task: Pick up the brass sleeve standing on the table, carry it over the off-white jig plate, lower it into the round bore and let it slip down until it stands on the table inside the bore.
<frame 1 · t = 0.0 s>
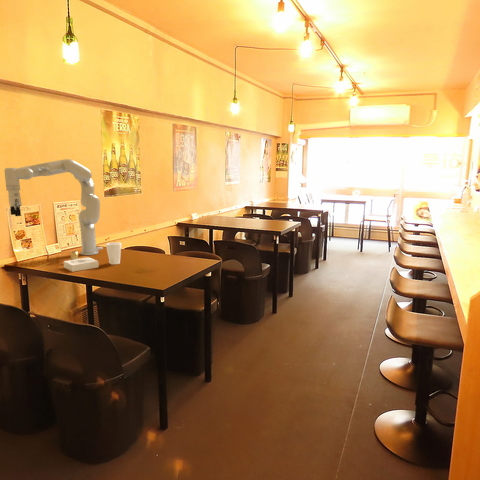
hand: (15, 215, 255), 31 cm above the table, tool pointing down, fingers open, 9 cm apart
foam cup: (114, 263, 262), on the table
brass sleeve: (74, 262, 264), on the table
jig plate: (81, 267, 251), on the table
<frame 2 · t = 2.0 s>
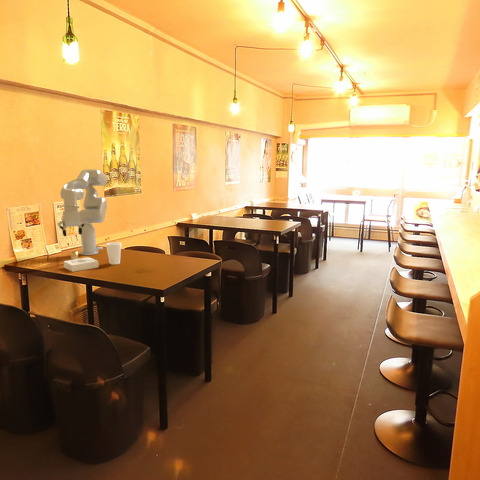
hand: (72, 235, 261), 18 cm above the table, tool pointing down, fingers open, 9 cm apart
nothing on the table moved.
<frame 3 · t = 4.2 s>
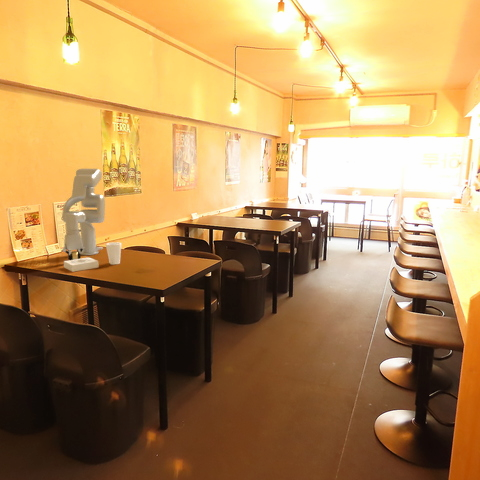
hand: (74, 259, 264), 2 cm above the table, tool pointing down, fingers closed on brass sleeve, 4 cm apart
brass sleeve: (74, 262, 264), on the table, touching gripper
everything else where it was.
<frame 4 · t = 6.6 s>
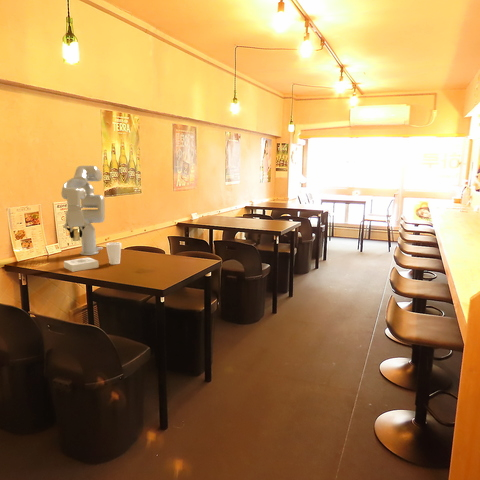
hand: (76, 237, 253), 18 cm above the table, tool pointing down, fingers closed on brass sleeve, 4 cm apart
brass sleeve: (76, 240, 253), point 16 cm above the table, touching gripper
everything else where it was.
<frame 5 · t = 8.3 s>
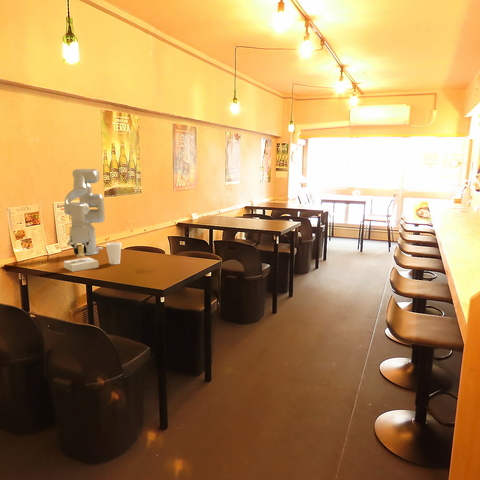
hand: (80, 253, 249), 9 cm above the table, tool pointing down, fingers closed on brass sleeve, 4 cm apart
brass sleeve: (80, 256, 250), point 7 cm above the table, touching gripper
everything else where it was.
when the fingers open (5 cm above the table, at t = 9.4 s): brass sleeve drops 3 cm, resting in jig plate.
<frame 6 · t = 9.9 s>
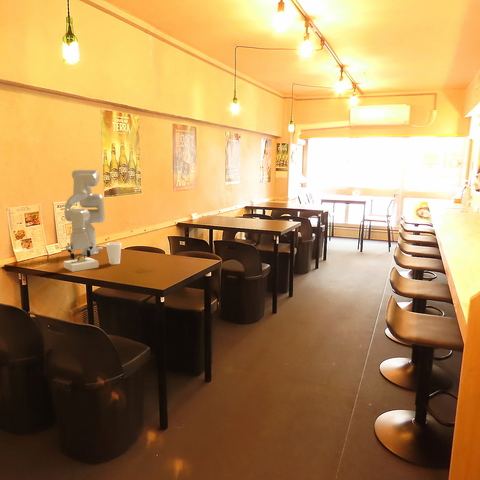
hand: (80, 258, 250), 6 cm above the table, tool pointing down, fingers open, 9 cm apart
brass sleeve: (81, 267, 251), resting in jig plate
everything else where it was.
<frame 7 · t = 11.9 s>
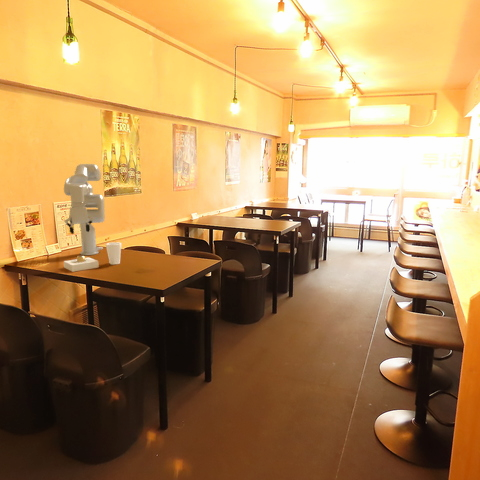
hand: (80, 232, 252), 21 cm above the table, tool pointing down, fingers open, 9 cm apart
nothing on the table moved.
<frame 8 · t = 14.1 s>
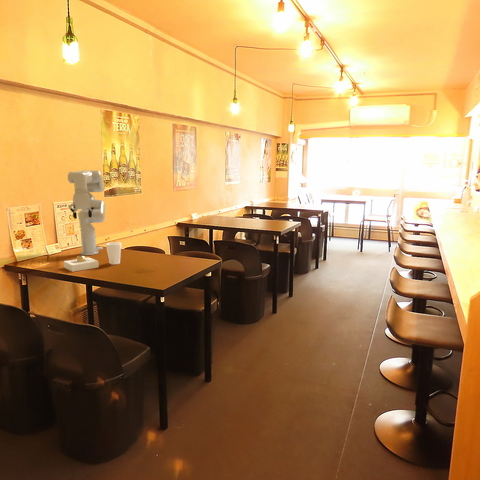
hand: (82, 217, 266), 28 cm above the table, tool pointing down, fingers open, 9 cm apart
nothing on the table moved.
at the end: brass sleeve 0.1 cm off-centre on the jig plate, point 0.0 cm above the jig plate's base; brass sleeve tilted 0°; the gripper is holding nothing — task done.
